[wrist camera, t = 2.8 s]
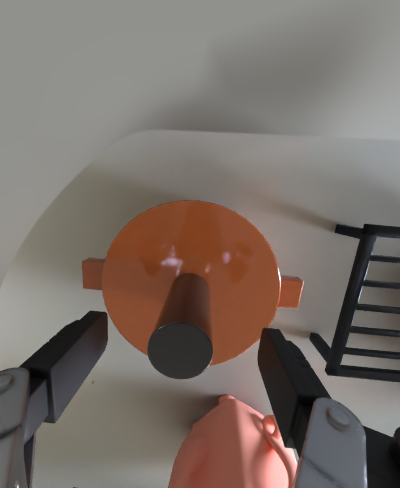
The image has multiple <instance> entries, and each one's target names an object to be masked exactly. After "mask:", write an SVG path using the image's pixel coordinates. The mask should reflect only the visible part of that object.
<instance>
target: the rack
mask: <svg viewBox="0 0 400 488" xmlns="http://www.w3.org/2000/svg"><path fill="white" fill-rule="evenodd" d="M335 233H337V234H341V235H346V236H350V237H354V238H358V239H360V241H359V245H358V249H357V252H356V256H355V260H354V264H353V267H352V271H351V275H350V279H349V282H348V286H347V290H346V294H345V297H344V301H343V305H342V308H341V312H340V316H339V320H338V323H337V327H336V331H335V335H334V338H333V342H332V346H331V348H330V347H329V346H328V344H327V343H326V342H325V341H324V340H323V339H322V337H321V336H320V335H319V334H317V333H311V334H310V338H309V340H310V341H311V342H312V344H313V345H314V346H315V348H316V349H317V350H318V352H319V353H320V354H321V356H322V357H323V358H324V360H325V361H326V362H327V364H326V368H325V372H326V373H327V375H329V376H339V377H350V378H360V379H370V380H381V381H391V382H400V370H389V369H379V368H369V367H358V366H348V365H340V364H341V361H342V357H343V354H348V355H359V356H369V357H380V358H390V359H400V352H390V351H380V350H369V349H359V348H348V347H346V343H347V340H348V336H349V333H359V334H370V335H380V336H391V337H400V331H399V330H389V329H378V328H368V327H357V326H352V322H353V319H354V315H355V312H356V310H362V311H373V312H383V313H394V314H400V307H390V306H379V305H368V304H358V301H359V298H360V294H361V291H362V287H363V286H369V287H379V288H390V289H400V283H394V282H383V281H372V280H365V277H366V273H367V270H368V266H369V263H370V261H380V262H390V263H400V257H392V256H381V255H372V252H373V249H374V245H375V242H376V238H377V237H388V238H399V239H400V227H395V226H384V225H373V224H364V226H363V228H360V227H354V226H348V225H340V224H337V225H336V229H335Z"/></svg>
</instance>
